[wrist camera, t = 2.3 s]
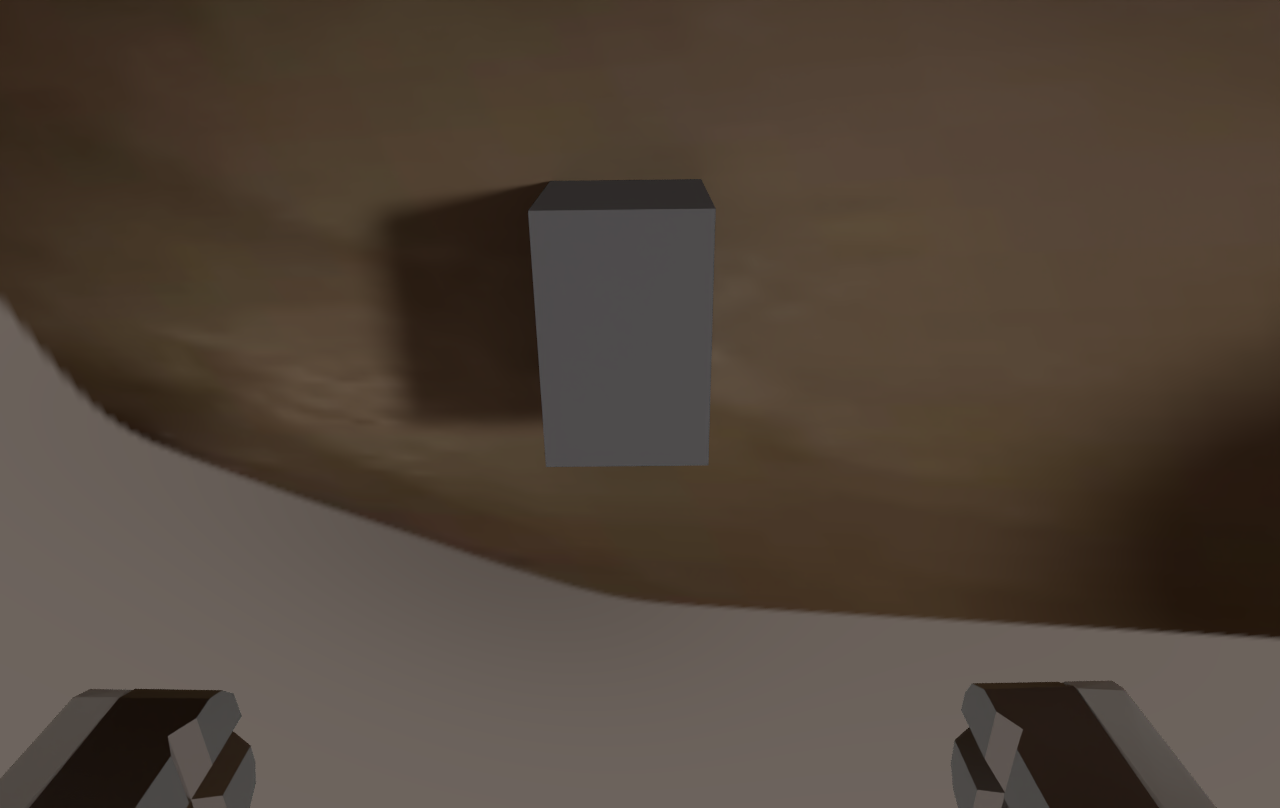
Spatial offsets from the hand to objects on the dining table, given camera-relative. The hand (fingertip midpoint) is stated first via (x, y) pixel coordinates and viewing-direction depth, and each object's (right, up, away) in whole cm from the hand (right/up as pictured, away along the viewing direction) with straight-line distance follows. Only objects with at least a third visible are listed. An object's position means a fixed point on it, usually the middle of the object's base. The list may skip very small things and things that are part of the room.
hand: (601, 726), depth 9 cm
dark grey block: (0, +7, +16) cm, 17 cm away
